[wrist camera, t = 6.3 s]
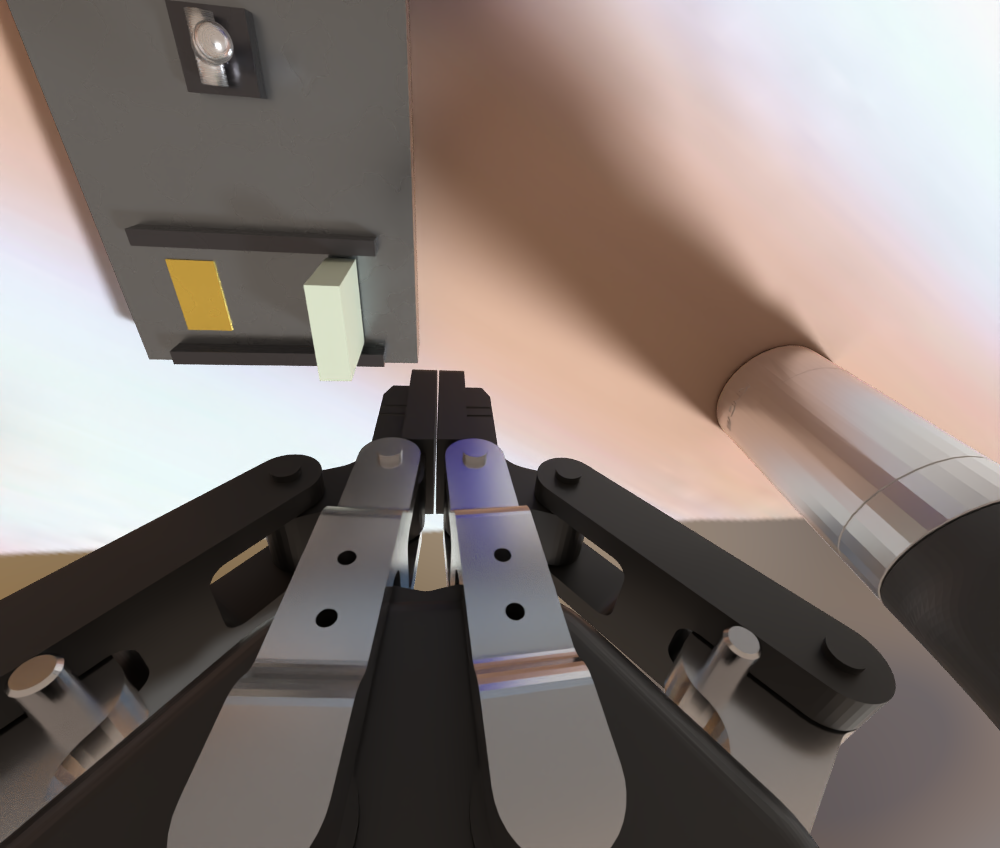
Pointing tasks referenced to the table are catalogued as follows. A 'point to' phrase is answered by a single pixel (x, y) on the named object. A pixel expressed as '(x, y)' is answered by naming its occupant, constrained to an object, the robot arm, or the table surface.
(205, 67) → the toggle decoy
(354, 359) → the pale green eraser block
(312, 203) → the panel
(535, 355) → the table surface
